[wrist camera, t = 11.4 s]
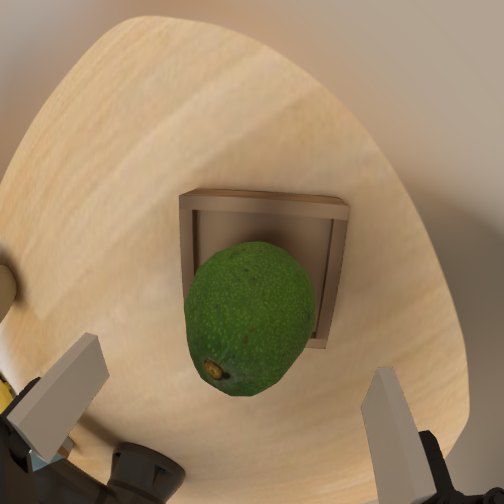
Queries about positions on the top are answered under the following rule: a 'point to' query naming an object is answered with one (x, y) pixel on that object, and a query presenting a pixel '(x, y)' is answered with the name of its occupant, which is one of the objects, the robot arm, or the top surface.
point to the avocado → (248, 317)
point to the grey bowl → (6, 290)
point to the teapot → (4, 396)
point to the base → (269, 237)
